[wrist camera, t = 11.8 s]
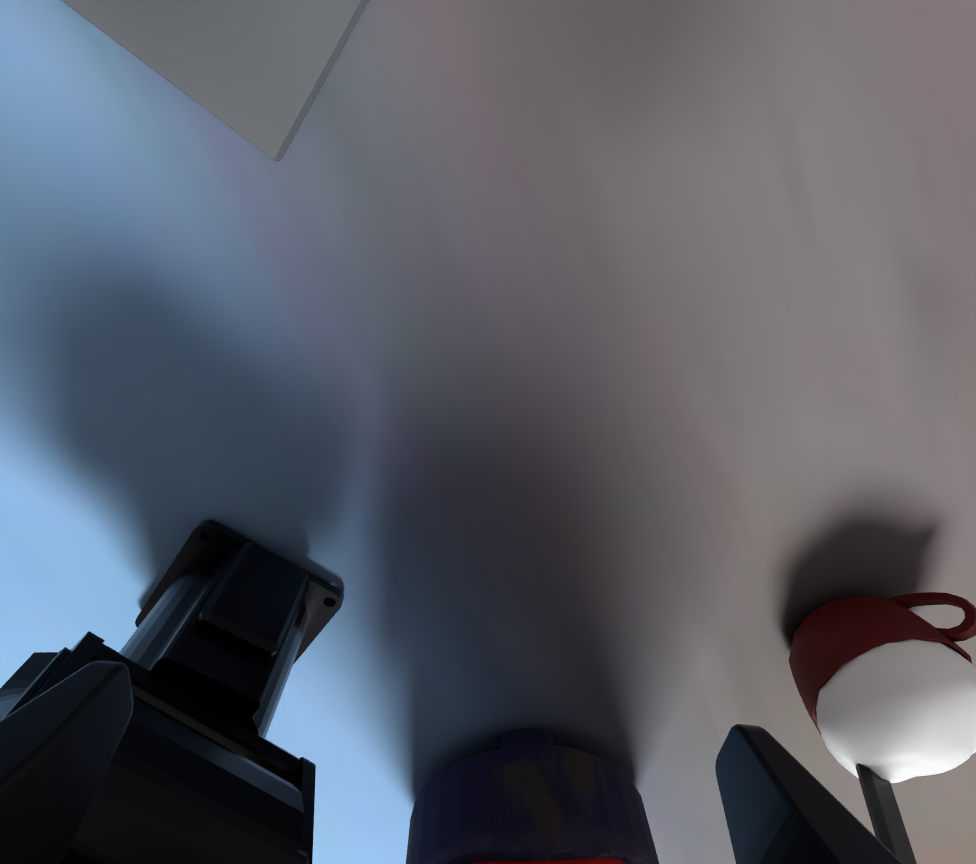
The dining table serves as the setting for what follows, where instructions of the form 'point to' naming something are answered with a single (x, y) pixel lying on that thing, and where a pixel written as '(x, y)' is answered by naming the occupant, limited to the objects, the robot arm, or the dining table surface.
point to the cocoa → (888, 695)
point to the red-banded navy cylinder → (530, 809)
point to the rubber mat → (235, 54)
